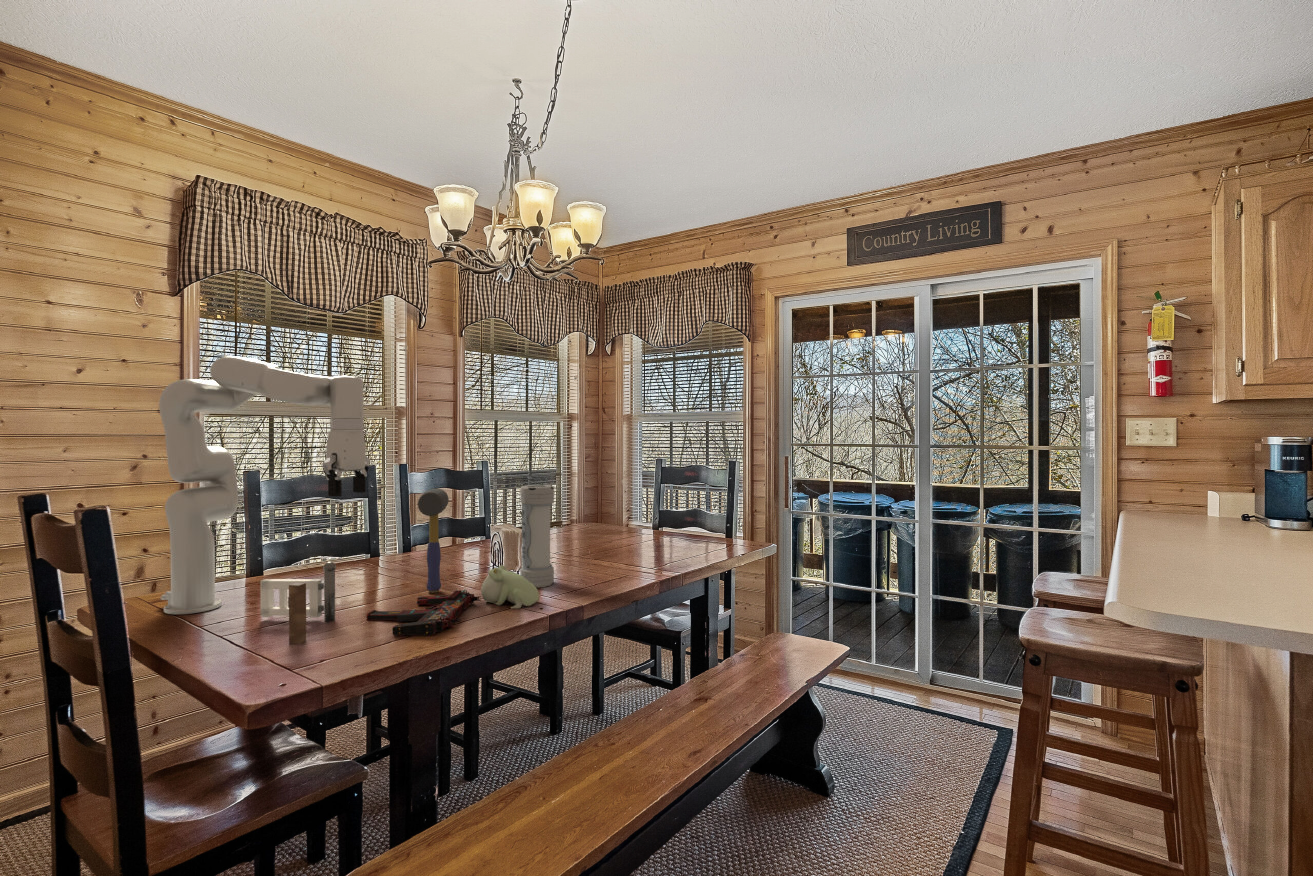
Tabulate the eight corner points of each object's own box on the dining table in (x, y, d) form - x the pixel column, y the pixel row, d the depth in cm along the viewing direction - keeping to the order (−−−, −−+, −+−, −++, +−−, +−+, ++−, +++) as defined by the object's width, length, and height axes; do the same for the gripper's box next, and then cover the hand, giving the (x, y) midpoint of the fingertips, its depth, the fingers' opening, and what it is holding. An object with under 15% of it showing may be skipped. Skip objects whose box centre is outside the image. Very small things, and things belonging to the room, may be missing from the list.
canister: (515, 587, 200) (515, 487, 199) (527, 579, 210) (527, 484, 209) (547, 588, 198) (547, 488, 197) (558, 581, 208) (558, 485, 207)
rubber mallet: (443, 597, 188) (443, 490, 187) (416, 598, 187) (415, 491, 186) (450, 586, 200) (450, 486, 200) (424, 587, 199) (424, 487, 199)
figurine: (491, 596, 189) (491, 561, 189) (544, 601, 185) (544, 565, 185) (472, 605, 180) (472, 568, 179) (528, 610, 175) (528, 572, 175)
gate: (265, 615, 166) (265, 579, 166) (324, 615, 166) (324, 579, 166) (260, 617, 164) (260, 581, 164) (320, 617, 164) (320, 581, 164)
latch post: (287, 643, 148) (287, 585, 147) (295, 640, 150) (294, 582, 150) (298, 644, 147) (298, 585, 147) (306, 640, 149) (306, 583, 149)
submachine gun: (399, 588, 187) (488, 584, 188) (399, 601, 187) (488, 597, 188) (343, 625, 153) (452, 620, 153) (344, 641, 153) (453, 636, 153)
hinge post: (320, 621, 164) (320, 562, 163) (328, 618, 166) (328, 560, 166) (331, 622, 163) (330, 563, 163) (338, 619, 166) (338, 560, 166)
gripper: (354, 425, 176) (355, 490, 176) (310, 425, 159) (310, 497, 159) (380, 426, 174) (381, 491, 175) (338, 425, 157) (339, 498, 158)
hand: (347, 494), depth 167 cm, fingers open, 9 cm apart
